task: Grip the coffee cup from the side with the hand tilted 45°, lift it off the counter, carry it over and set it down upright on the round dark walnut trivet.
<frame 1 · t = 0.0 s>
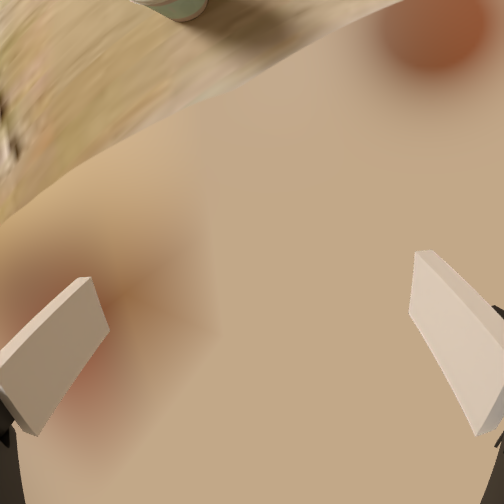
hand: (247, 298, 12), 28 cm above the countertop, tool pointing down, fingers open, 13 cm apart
coffee cup: (185, 3, 30), on the countertop
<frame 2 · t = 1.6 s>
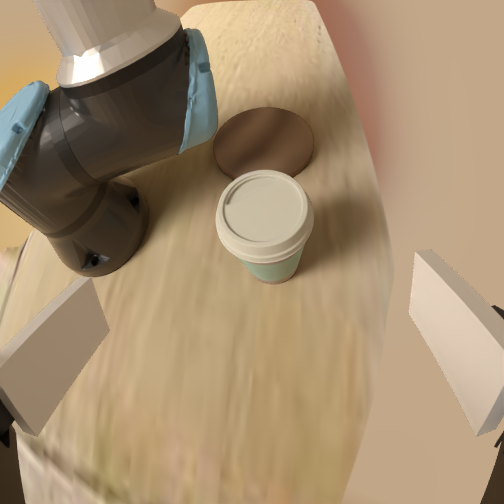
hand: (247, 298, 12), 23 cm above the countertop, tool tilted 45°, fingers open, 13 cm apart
walnut trivet: (263, 146, 44), on the countertop
coffee cup: (273, 261, 37), on the countertop
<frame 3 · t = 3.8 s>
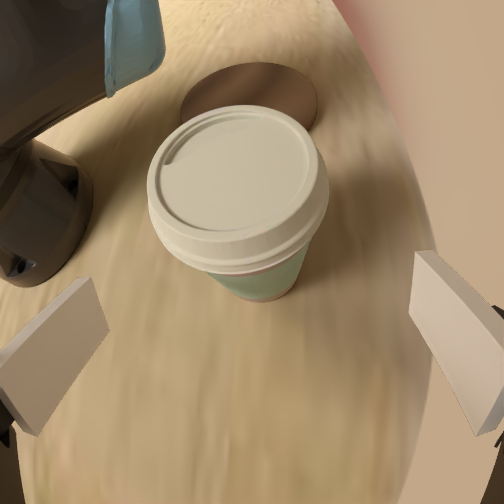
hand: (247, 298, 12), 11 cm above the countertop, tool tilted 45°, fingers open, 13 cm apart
walnut trivet: (249, 108, 31), on the countertop
coffee cup: (260, 266, 24), on the countertop
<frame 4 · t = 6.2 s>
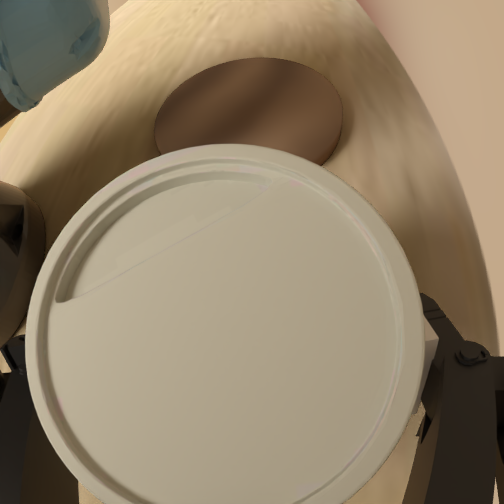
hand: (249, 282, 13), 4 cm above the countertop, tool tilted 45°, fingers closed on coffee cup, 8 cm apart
walnut trivet: (248, 119, 23), on the countertop
coffee cup: (263, 367, 16), on the countertop, touching gripper
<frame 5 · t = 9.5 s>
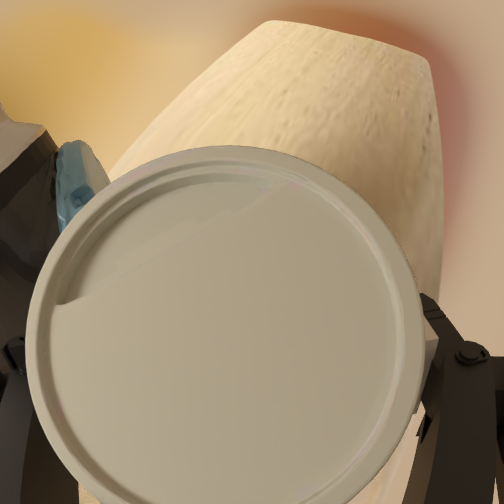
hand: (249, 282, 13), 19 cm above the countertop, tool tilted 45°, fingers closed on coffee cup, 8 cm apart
coffee cup: (263, 368, 16), point 14 cm above the countertop, touching gripper
when the fingers open (7 cm above the countertop, at t = 12.9 s): coffee cup drops 1 cm, resting on walnut trivet.
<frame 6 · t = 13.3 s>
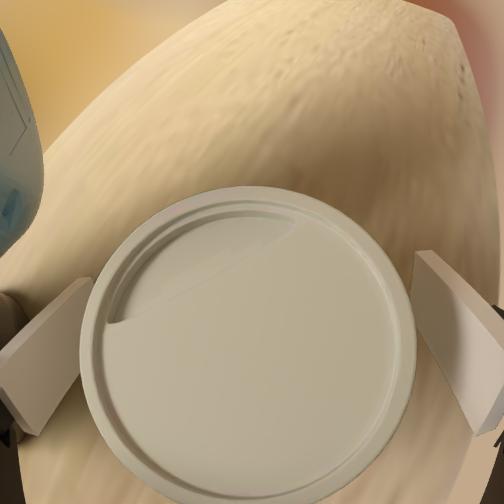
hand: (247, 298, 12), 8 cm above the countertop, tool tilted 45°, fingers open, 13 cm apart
coffee cup: (273, 370, 17), point 1 cm above the countertop, touching walnut trivet
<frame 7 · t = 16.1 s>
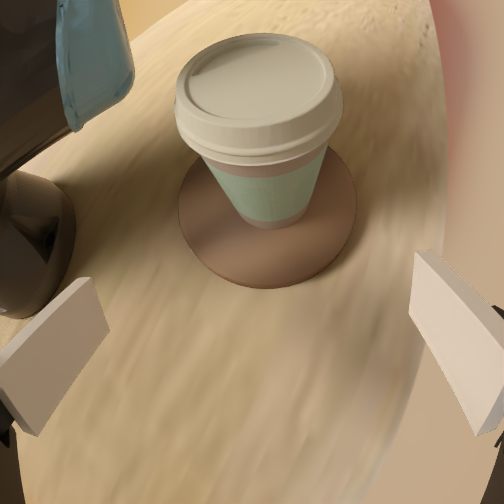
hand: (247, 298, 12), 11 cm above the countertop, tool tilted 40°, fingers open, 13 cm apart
walnut trivet: (267, 203, 26), on the countertop
coffee cup: (271, 196, 24), point 1 cm above the countertop, touching walnut trivet
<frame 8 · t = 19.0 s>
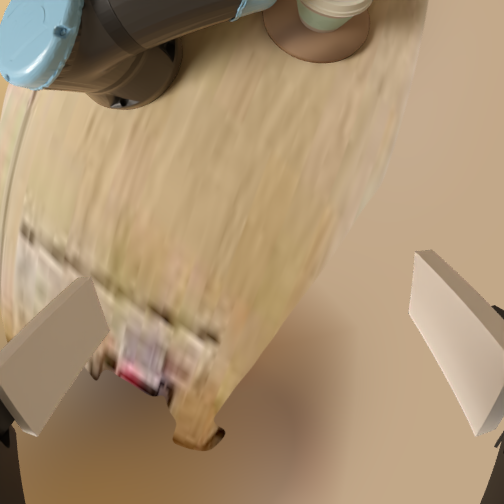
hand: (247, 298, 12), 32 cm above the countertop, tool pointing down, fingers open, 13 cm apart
walnut trivet: (316, 17, 33), on the countertop
coffee cup: (320, 14, 31), point 1 cm above the countertop, touching walnut trivet
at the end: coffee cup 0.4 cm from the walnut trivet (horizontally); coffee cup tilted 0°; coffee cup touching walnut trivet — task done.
